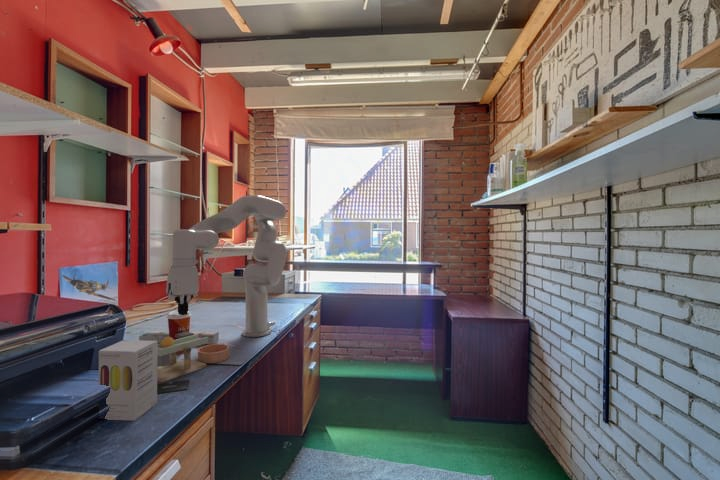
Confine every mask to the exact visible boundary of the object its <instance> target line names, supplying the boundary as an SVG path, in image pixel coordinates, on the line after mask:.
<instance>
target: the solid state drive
mask: <svg viewBox="0 0 720 480" xmlns="http://www.w3.org/2000/svg"><path fill="white" fill-rule="evenodd" d="M189 385H190V379H183V380H176V381H171V382H170V381H168V382H160V383H157V395H161V394H162V395H163V394H168V393H176V392H183V391H188V390H189Z"/></svg>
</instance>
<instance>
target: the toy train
mask: <svg viewBox="0 0 720 480" xmlns="http://www.w3.org/2000/svg"><path fill="white" fill-rule="evenodd" d="M189 332H191V333H194V335H196V334H198V338H204V337H208V343H206V344H202V345H201V346H206V345H211V344H218V342H219V339H220V338H219V334H220V333H219V331H206V330H202V331H198V330H197V331H196V330H189ZM166 337H169V329H168V330H167V329H165V330H157V329H156V330H150V331H147V332H143V334H141V335H139V337H138V340H142V341H158V344H160V343H161V342H162V340H163V339H164V338H166Z"/></svg>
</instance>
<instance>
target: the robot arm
mask: <svg viewBox="0 0 720 480" xmlns="http://www.w3.org/2000/svg"><path fill="white" fill-rule="evenodd" d="M286 215H287V209H286V206H285V204H284V203H282V202H281V201H279V200H275V199H273V198H270V197H266V196H263V195H258V194H257V195H244V196H240V198H238V199H236V200H235V201H234V202H233V203H230V204H229V206H227V207H226V208H225V209H223V210H221V211H220V212H218V213H214V214H213V215H210V216H209V217H207V218H205V219H202V220H200V221H198V222H197V223H196V224H194V225H193V226H191V227H190V228H188V229H183V228H182V229H181V228H179V229H175V230H173V232H172V233H173V234H172V260H171V261H172V265H171V266H172V267H170V268H169V269H168V274H167V278H166V279H167V280H166V289H165V292H166V295H168V296H167V300H170V301H175V302H176V304H177V310H178V314H180V315H187V314H188V311H189V304H190V302H191V300H192V299H194V298H196V297H198V296H199V291H200V280H199V279H200V278H199V270H198V267H197V264H198V263H199V260H198V259H197V250H206V251H207V250H208V251H209V250H213V249H215V248H216V247H217V246H218V245H219V242H220V237H219V233H224V232H227V231H231V230H233V229H236V228H237V227H238V226H239V225H241V224H242V223H243V222H244V221H246V220H247V219H248V218H249V217H251V216H253V218H254V220H255V221H256V224H257V227H258V232H257V236H256V239H255V243H254V246H253V251H252V257H253V259H254V260H255V261H258V262H264V263H265V264H264V263H251V264H248V265H247V266H245V268H244V269H243V275H242V276H243V277H242V278H243V282H244V286H245V287H244V289H245V328H244V330H242V331H241V335H242V336H244V337H247V338H258V337H265V336H268V335H270V334H271V332H272V330H271V327H272V326H275V325H276V322H275V320H272V321H268V303H269V302H268V298H269V297H268V295H269V294H268V289H267V287H274V286H277V285H278V284H279V283H280V281H281V279H282V276H283V272H284V267H285V263H286V261H287V260H286V259H287V254H288V253H287V247H286V246H285V244H284V243H283V242H281V241H278V240H277V234H278V231H277V228H276V227H277V226H276V225H275V223H274V221H282V220H283V219H284V218H285V217H286ZM266 262H267V264H266Z"/></svg>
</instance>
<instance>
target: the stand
mask: <svg viewBox="0 0 720 480" xmlns="http://www.w3.org/2000/svg"><path fill="white" fill-rule="evenodd" d="M191 352H192V348H191V347H185V348H184V353H183V358H181V359H179V360H177V354H176V352H174V353H170V364H169V365H166V366H159V365H157V382H160V383H165V382H166V381H170V380H172V379H175V378H178V377H181V376H184V375H187V374H191V373H192V372H196V371H198V370H199V371H200V370H201V369H204V368H207V366H208V365H207V364H208V363H202V362H199V361H198V360H196V359H194V358H191V356H192V354H191Z"/></svg>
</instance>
